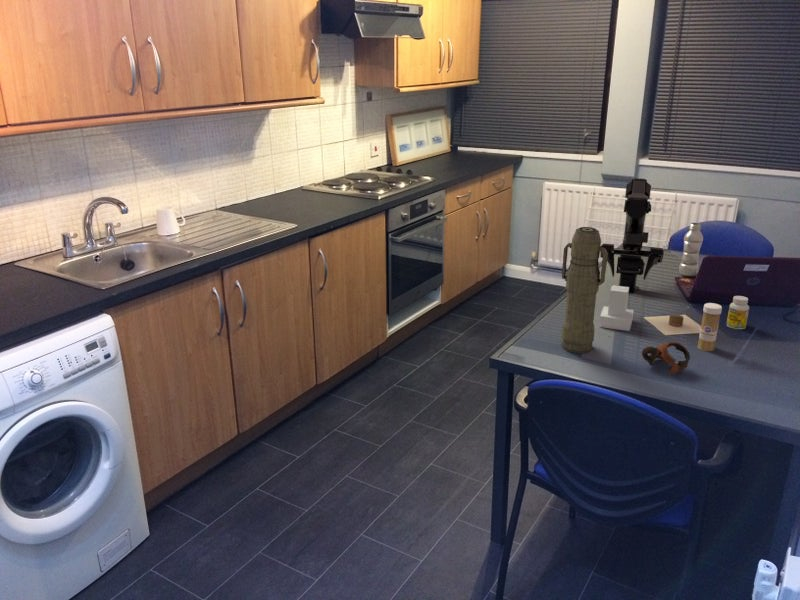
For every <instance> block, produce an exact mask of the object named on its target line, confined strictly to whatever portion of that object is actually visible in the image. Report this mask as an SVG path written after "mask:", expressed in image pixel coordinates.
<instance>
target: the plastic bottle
mask: <svg viewBox="0 0 800 600" xmlns="http://www.w3.org/2000/svg"><path fill="white" fill-rule="evenodd" d="M701 227H702V224H701V223H699V222H690V224H689V227H688V229H689V230H688V231H687V232H686V233H685V234H684V237H683V253H682V257H681V261H680V263H679V267H678V272H679V274H680V275H682V276H686V277H694V276H696V275H697V274H698V272H699V258H700V257H699V255H700V250H701V247H702V245H703V241H704V235H703V233H702V231H701Z"/></svg>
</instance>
